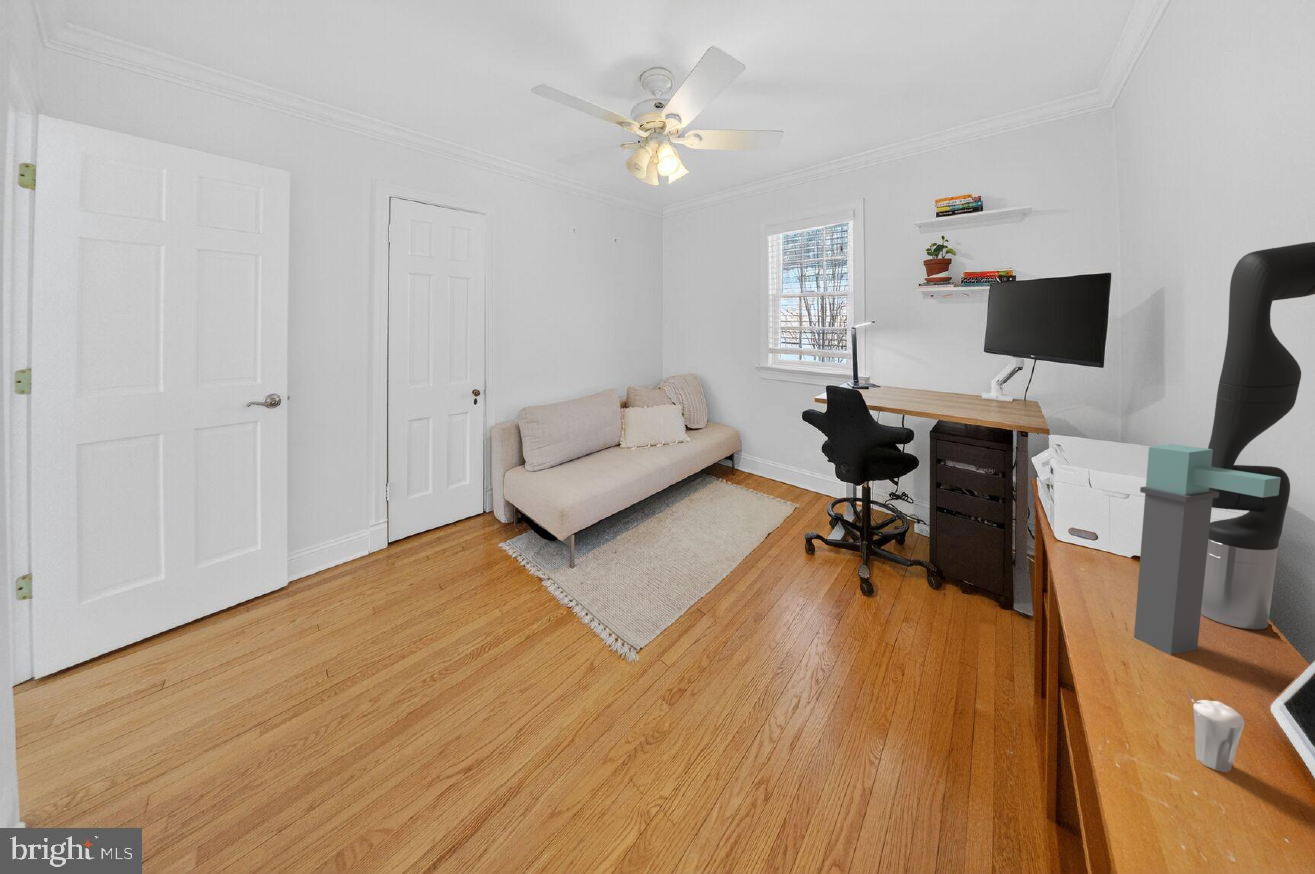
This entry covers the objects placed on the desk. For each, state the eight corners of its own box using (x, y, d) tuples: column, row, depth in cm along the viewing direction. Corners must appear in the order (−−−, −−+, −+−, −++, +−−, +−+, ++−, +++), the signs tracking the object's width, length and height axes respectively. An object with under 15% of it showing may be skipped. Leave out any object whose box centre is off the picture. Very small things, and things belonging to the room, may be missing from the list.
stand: (1129, 636, 92) (1140, 487, 87) (1158, 630, 93) (1171, 482, 88) (1171, 657, 85) (1186, 497, 80) (1202, 651, 86) (1219, 492, 81)
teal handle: (1145, 486, 87) (1149, 447, 86) (1167, 483, 88) (1171, 444, 87) (1256, 510, 72) (1262, 462, 71) (1282, 506, 73) (1288, 458, 72)
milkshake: (1185, 740, 68) (1191, 682, 67) (1242, 766, 64) (1250, 704, 62) (1175, 754, 66) (1181, 695, 65) (1233, 782, 62) (1241, 718, 60)
